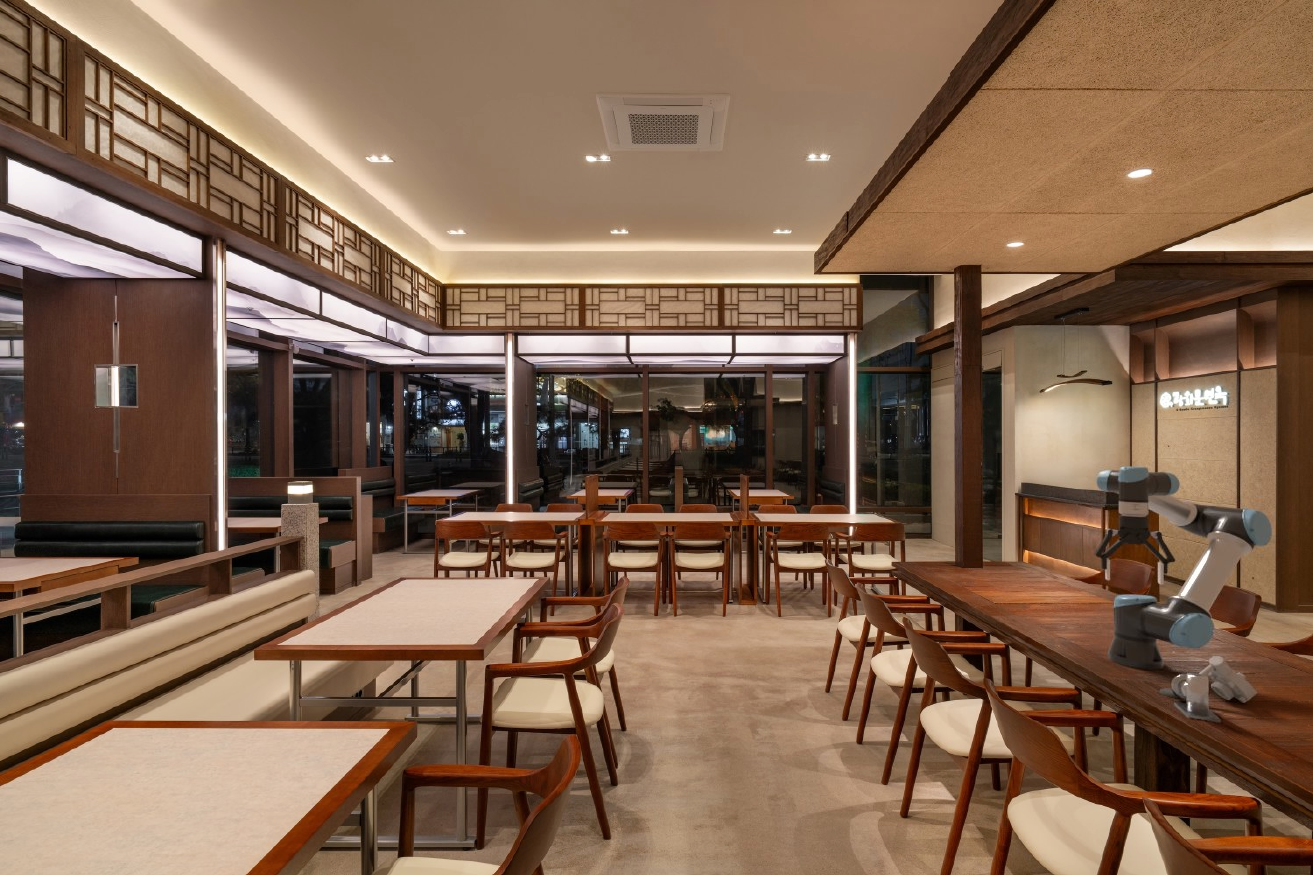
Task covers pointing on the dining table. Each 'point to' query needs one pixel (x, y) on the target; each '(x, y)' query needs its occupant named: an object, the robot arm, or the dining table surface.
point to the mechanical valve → (1227, 681)
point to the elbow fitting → (1194, 696)
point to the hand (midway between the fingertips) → (1133, 581)
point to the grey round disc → (1168, 693)
